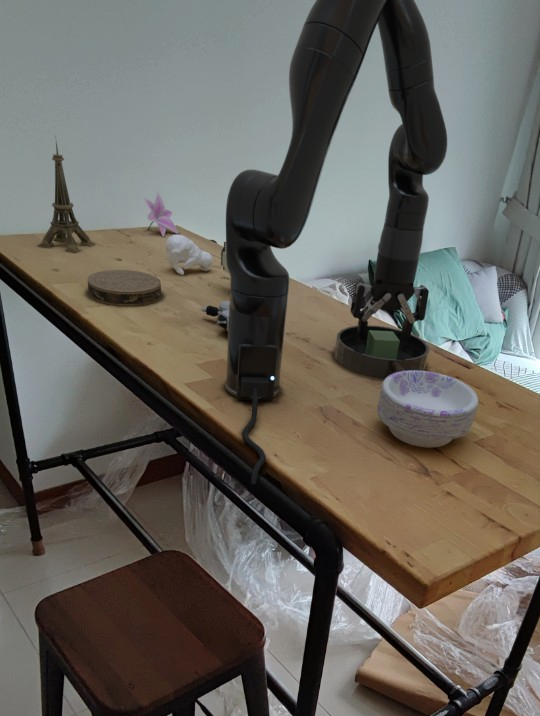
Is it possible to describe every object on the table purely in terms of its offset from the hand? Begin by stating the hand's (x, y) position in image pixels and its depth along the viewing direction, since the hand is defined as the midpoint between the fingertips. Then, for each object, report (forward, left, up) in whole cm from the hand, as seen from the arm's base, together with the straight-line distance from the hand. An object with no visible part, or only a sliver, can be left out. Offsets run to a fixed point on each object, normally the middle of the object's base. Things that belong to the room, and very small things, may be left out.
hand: (382, 339), depth 126 cm
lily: (+91, +44, -5) cm, 102 cm away
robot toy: (+14, +27, -5) cm, 31 cm away
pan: (-1, 0, -4) cm, 4 cm away
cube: (-1, 0, -4) cm, 4 cm away
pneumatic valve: (+36, +25, -4) cm, 44 cm away
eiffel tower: (+70, +68, -4) cm, 98 cm away
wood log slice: (+32, +51, -4) cm, 61 cm away
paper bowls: (-31, +1, -5) cm, 31 cm away
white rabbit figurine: (+53, +36, -4) cm, 65 cm away
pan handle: (-14, 0, -2) cm, 14 cm away
